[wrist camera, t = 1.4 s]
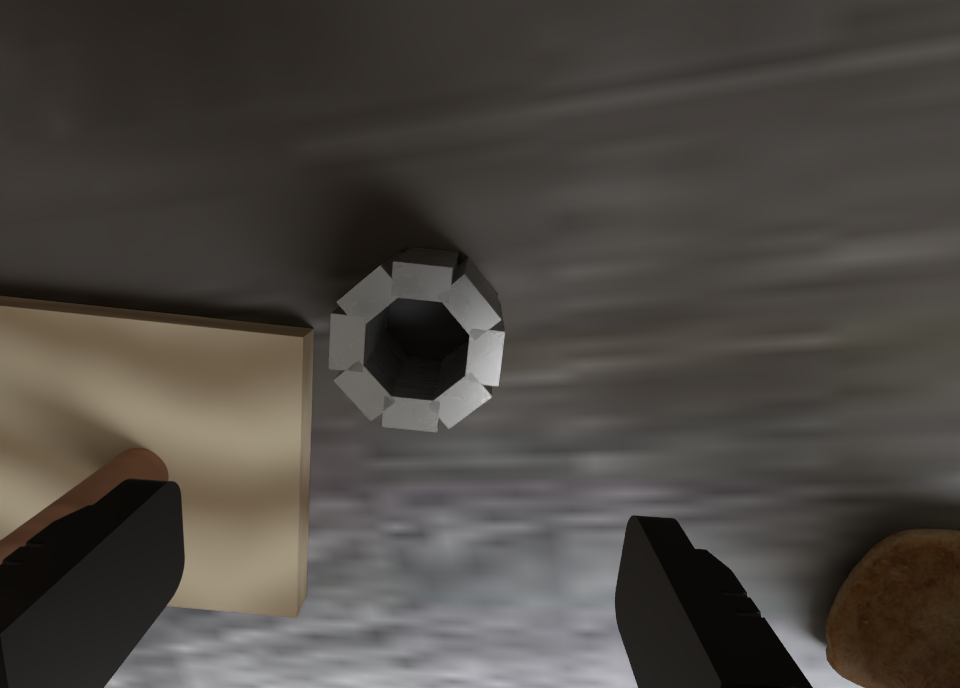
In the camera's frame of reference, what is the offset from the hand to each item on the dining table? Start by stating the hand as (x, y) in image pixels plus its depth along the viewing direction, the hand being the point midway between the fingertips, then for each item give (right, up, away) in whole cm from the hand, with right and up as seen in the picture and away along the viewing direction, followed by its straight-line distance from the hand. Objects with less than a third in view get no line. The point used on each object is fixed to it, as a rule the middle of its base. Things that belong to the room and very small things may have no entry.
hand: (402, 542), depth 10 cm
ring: (-1, +5, +14) cm, 15 cm away
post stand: (-14, -2, +16) cm, 21 cm away
